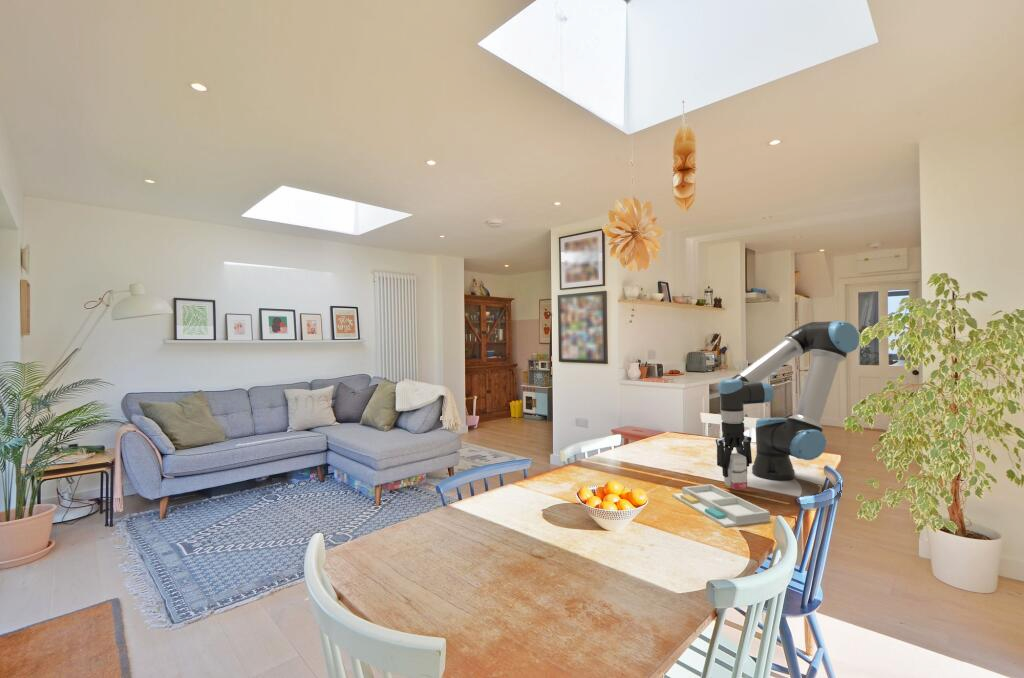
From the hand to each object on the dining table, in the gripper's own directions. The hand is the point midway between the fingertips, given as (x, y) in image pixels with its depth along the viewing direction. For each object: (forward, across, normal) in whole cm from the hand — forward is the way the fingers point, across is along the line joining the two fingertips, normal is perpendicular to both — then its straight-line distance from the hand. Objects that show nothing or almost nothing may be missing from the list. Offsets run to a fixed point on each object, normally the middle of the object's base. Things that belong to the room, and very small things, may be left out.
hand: (735, 484), depth 170 cm
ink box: (+1, 0, 0) cm, 1 cm away
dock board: (+2, +17, +12) cm, 21 cm away
